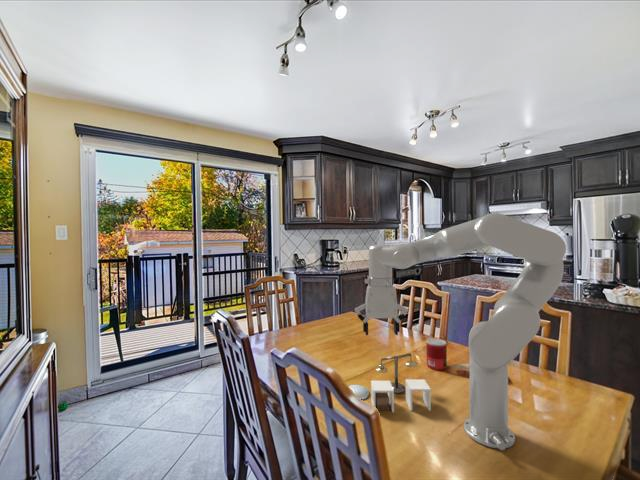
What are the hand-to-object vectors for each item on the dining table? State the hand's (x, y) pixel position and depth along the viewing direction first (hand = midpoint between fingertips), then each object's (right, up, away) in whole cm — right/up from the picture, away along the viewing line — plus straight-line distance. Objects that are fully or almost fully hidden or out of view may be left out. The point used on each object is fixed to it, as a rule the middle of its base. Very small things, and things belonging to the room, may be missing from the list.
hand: (381, 333), depth 99 cm
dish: (-7, -24, +9) cm, 27 cm away
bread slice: (+43, -24, +21) cm, 54 cm away
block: (0, -24, 0) cm, 24 cm away
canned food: (+30, -24, +29) cm, 48 cm away
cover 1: (0, -24, 0) cm, 24 cm away
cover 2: (+12, -24, +1) cm, 27 cm away
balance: (+8, -24, +11) cm, 28 cm away
